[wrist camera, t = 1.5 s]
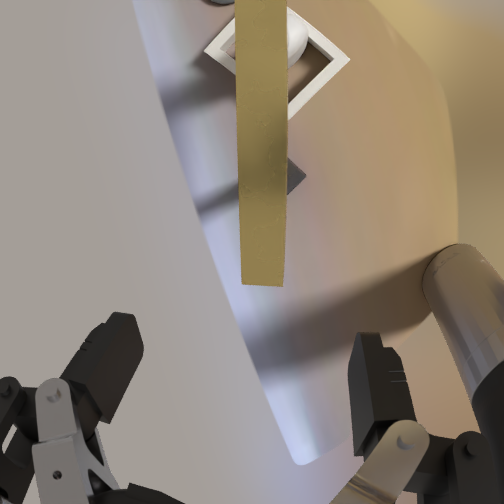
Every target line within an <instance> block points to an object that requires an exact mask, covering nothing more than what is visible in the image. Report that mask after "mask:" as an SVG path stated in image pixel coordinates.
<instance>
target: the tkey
mask: <svg viewBox="0 0 504 504" xmlns="http://www.w3.org/2000/svg"><path fill="white" fill-rule="evenodd" d="M235 61H236V111H237V152H238V187H239V220H240V250H241V278H242V284H245V285H261V286H279V287H283V278H284V262H285V235H286V204H287V158H288V38H287V0H235Z"/></svg>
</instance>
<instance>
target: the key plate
mask: <svg viewBox="0 0 504 504" xmlns="http://www.w3.org/2000/svg"><path fill="white" fill-rule="evenodd" d="M305 177H306V174H305V173H304V172H303V171H302V170H301V169H299V168H298V167H297V166H296V165H295V164H294V163H293V162H292V161H291V160H290V159H289V158H287V195H288V194H289V193H290V192H291V191H292V190H293V189H294V188H295V187H296V186H297V185H298V184H299V183H300V182H301V181H302V180H303V179H304V178H305Z"/></svg>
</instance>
